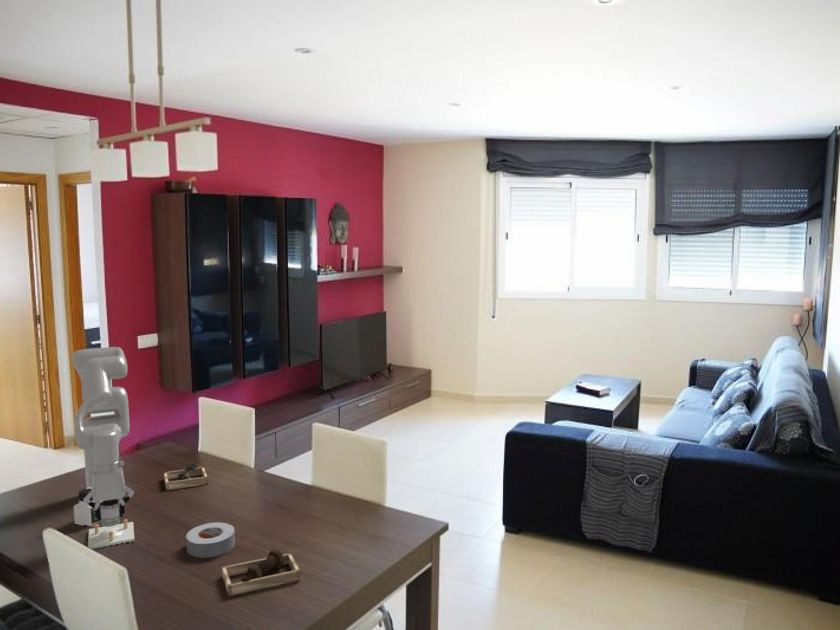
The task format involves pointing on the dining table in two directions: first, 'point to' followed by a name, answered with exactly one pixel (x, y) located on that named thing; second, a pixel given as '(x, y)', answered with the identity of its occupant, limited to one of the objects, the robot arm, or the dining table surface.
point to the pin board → (111, 535)
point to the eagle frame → (186, 482)
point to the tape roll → (210, 540)
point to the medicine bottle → (84, 510)
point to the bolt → (264, 566)
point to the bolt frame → (258, 582)
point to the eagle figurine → (186, 472)
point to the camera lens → (110, 513)
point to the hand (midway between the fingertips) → (110, 517)
